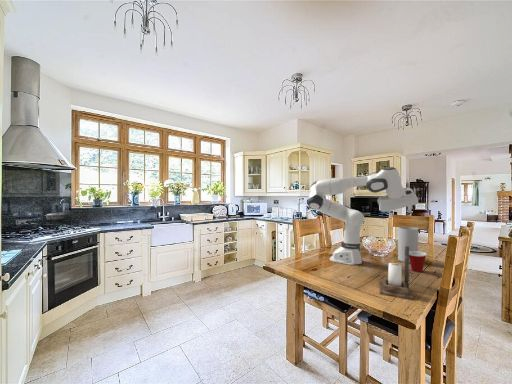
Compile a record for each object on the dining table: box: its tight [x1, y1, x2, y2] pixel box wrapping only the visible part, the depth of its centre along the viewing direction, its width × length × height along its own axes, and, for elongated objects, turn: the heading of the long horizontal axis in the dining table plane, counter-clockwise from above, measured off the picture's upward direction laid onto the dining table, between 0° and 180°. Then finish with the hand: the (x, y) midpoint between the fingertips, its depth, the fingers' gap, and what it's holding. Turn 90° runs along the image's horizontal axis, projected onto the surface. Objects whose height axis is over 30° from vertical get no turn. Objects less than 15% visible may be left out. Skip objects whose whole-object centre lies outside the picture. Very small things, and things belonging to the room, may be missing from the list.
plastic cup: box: [409, 250, 427, 273], centre depth 151 cm, size 11×11×12 cm
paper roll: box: [387, 262, 403, 287], centre depth 121 cm, size 6×6×13 cm
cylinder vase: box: [397, 226, 419, 264], centre depth 172 cm, size 12×12×25 cm
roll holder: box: [378, 246, 414, 301], centre depth 121 cm, size 14×14×23 cm
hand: (401, 214), depth 138 cm, fingers open, 8 cm apart
